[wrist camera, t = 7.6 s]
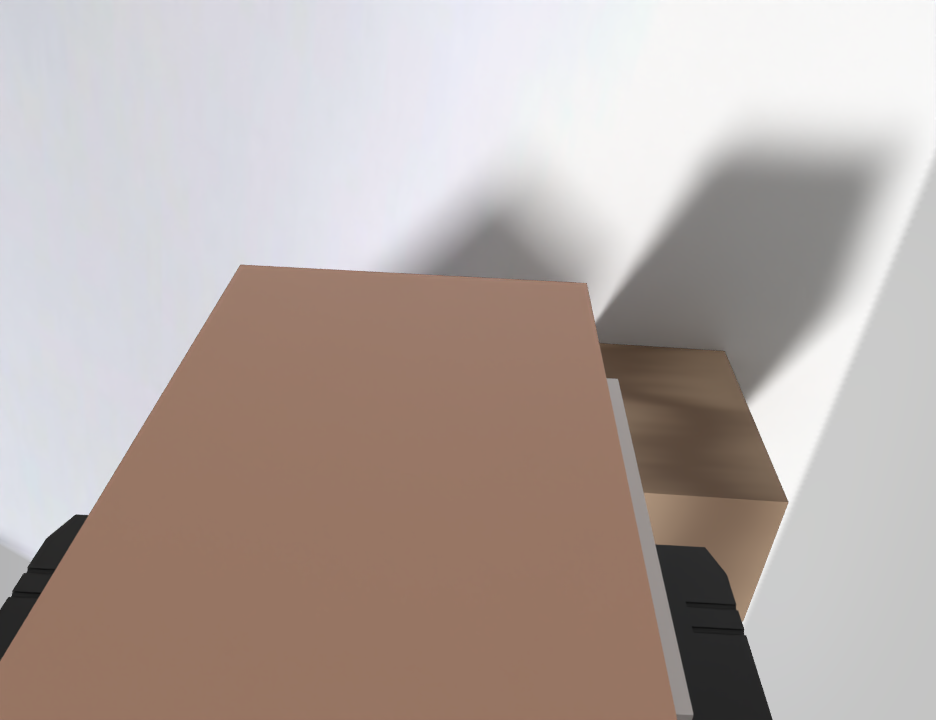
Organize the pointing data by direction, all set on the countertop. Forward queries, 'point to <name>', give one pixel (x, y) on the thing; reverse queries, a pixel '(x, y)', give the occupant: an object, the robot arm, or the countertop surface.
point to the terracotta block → (361, 521)
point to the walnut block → (700, 457)
